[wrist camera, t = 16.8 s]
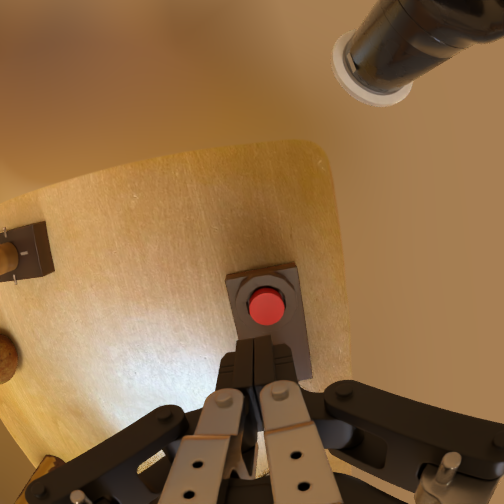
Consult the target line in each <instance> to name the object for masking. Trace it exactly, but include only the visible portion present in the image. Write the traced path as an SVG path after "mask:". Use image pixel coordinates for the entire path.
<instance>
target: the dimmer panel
mask: <svg viewBox="0 0 504 504" xmlns="http://www.w3.org/2000/svg"><path fill="white" fill-rule="evenodd" d="M6 242H10V243H12V244H13V245H14V246H15V248H16V250H17V253H18V259H19V260H18V265H17V267H16V269H14V270H12V271H10V272H7V273H5V274H2V275H0V282H6V281H14V282H15V285H17V281H16V280H21V279H29V278H36V277H43V276H45V275H47V274H50V273H52V272H54V271H55V270H54V266H53V261H52V257H51V252H50V247H49V241H48V236H47V230H46V224H45V222H40V223H35V224H31V225H27V226H24V227H20V228H16V229H13V230H9V231H6V227H4V232H2V233H0V244H3V243H6Z"/></svg>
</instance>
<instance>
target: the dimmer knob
mask: <svg viewBox="0 0 504 504" xmlns="http://www.w3.org/2000/svg"><path fill="white" fill-rule="evenodd" d="M18 260H19V259H18V253H17V250H16V248H15V246H14V245H13V244H12V243H10V242H6V243H3V244H0V275H2V274H5V273H7V272H10V271H12V270H14V269H16V267H17V265H18Z"/></svg>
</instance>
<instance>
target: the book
mask: <svg viewBox="0 0 504 504" xmlns="http://www.w3.org/2000/svg"><path fill="white" fill-rule="evenodd" d="M63 464H65V462H63V461H62V460H61V459H60V458H58V457H55V456H51V455H46V456H45V457H44V459H43V460H42V462H41V463H40V465H39V466H38V468H37V469H36V471H35V472H34V474H33V475H32V477H31V478H30V480H29V481H28V483H27V484H26V486H25V487H24V489H23V490H22V492H21V494H20V495H19V497H18V498H17V500H16V501H15V503H14V504H28V503H27V501H26V499H25V490H26V488H27V486H28V485H29V484H30V483H31V482H32V481H33V480H35V479H37V478H39V477H41V476H43V475H45V474H47V473H49V472H50V471H52V470H54V469H56V468H58V467H60V466H62V465H63Z"/></svg>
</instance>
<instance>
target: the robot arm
mask: <svg viewBox="0 0 504 504" xmlns="http://www.w3.org/2000/svg"><path fill="white" fill-rule="evenodd" d="M502 38H504V0H378V1H377V2H376V3H375V5H374V6H373V8H372V9H371V11H370V12H369V13H368V15H367V16H366V18H365V19H364V20H363V22H362V23H361V25H360V26H359V28H358V29H357V31H356V32H355V33H354V35H353V36H352V38H351V39H350V40H349V41H348V42H347V44H346V45H345V47H344V49H343V54H342V59H343V64H344V67H345V70H346V72H347V73H348V75H349V76H350V78H351V79H352V80H353V81H354V82H355V83H356V84H357V85H358V86H359V87H361V88H362V89H364V90H366V91H367V92H370V93H372V94H376V95H382V96H386V95H391V94H394V93H396V92H398V91H399V90H401V89H402V88H403V87H404V86H406V85H407V84H409V83H411V82H412V81H414V80H415V79H417V78H419V77H420V76H422V75H423V74H425V73H427V72H428V71H430V70H432V69H433V68H435V67H436V66H438V65H440V64H441V63H443V62H445V61H446V60H448V59H450V58H452V57H453V56H455V55H456V54H458V53H460V52H461V51H463V50H465V49H466V48H468V47H470V46H472V45H474V44H487V43H492V42H495V41H497V40H499V39H502ZM264 428H265V431H264ZM259 431H264V439H265V446H266V453H267V460H268V467H269V473H270V475H267V476H264V477H261V478H257V479H255V476H256V466H257V456H258V443H257V432H259ZM324 449H328V450H329V452H330V453H331V454H332V455H334V456H335V457H337V458H339V459H341V460H343V461H345V462H347V463H349V464H351V465H353V466H355V467H357V468H359V469H361V470H363V471H365V472H367V473H369V474H372V475H374V476H376V477H378V478H380V479H382V480H385V481H387V482H389V483H391V484H394V485H396V486H398V487H401V488H403V489H405V490H408V491H411V492H413V493H415V495H414V499H415V502H416V504H488V503H489V501H490V499H491V497H492V495H493V493H494V491H495V489H496V488H497V486H498V485H499V483H500V482H501V480H502V479H503V477H504V424H502V423H497V422H492V421H488V420H484V419H480V418H475V417H471V416H468V415H463V414H459V413H456V412H452V411H449V410H445V409H441V408H438V407H434V406H431V405H427V404H424V403H421V402H417V401H414V400H411V399H408V398H405V397H401V396H398V395H395V394H392V393H389V392H386V391H383V390H380V389H377V388H374V387H371V386H368V385H366V384H363V383H360V382H357V381H354V380H342V381H338V382H335V383H333V384H331V385H329V386H328V387H327V388H326V389H325V391H324V393H315V392H309V391H306V390H304V389H303V388H301V387H300V385H299V384H298V380H297V375H296V370H295V365H294V361H293V356H292V351H291V348H290V347H289V346H288V345H286V344H285V343H283V344H278V345H273V341H272V336H271V335H266V336H260V337H255V338H249V339H242V340H237V343H236V352H229V353H226V354H225V356H224V357H223V358H222V359H221V362H220V368H219V374H218V378H217V384H216V389H215V392H213V393H211V394H210V395H209V396H208V397H207V398H206V400H205V403H204V406H203V407H202V408H200V409H197V410H194V411H191V412H187V413H184V411H183V409H182V408H181V407H179V406H177V405H164V406H160V407H158V408H156V409H154V410H153V411H151V412H150V413H148V414H147V415H145V416H144V417H142V418H140V419H139V420H137V421H136V422H134V423H133V424H131V425H130V426H128V427H126V428H125V429H123V430H122V431H120V432H118V433H117V434H115V435H113V436H112V437H110V438H108V439H107V440H105V441H104V442H102V443H100V444H98V445H97V446H95V447H93V448H92V449H90V450H88V451H87V452H85V453H83V454H81V455H80V456H78V457H76V458H74V459H72V460H71V461H69V462H67V463H65V464H63V465H62V466H60V467H58V468H56V469H54V470H52V471H50V472H49V473H47V474H45V475H43V476H41V477H39V478H37V479H35V480H33V481H32V482H31V483H30V484H29V485H28V486H27V488H26V490H25V499H26V501H27V503H28V504H408V503H406V502H404V501H401V500H399V499H397V498H395V497H393V496H391V495H389V494H387V493H385V492H383V491H381V490H379V489H377V488H375V487H373V486H371V485H369V484H368V483H366V482H364V481H362V480H360V479H358V478H355V477H353V476H350V475H346V474H342V473H336V472H332V469H331V467H330V464H329V461H328V458H327V455H326V453H325V450H324ZM160 450H163V452H164V453H165V455H166V456H164V457H163V458H161V459H160V460H159V461H157V462H156V463H154V464H153V465H152V466H150V467H149V468H147V469H146V470H144V471H143V472H142V473H140V474H137V468H138V467H139V465H140V464H142V463H143V462H144V461H146V460H147V459H149V458H150V457H152V456H153V455H155V454H156V453H157V452H159V451H160Z"/></svg>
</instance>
